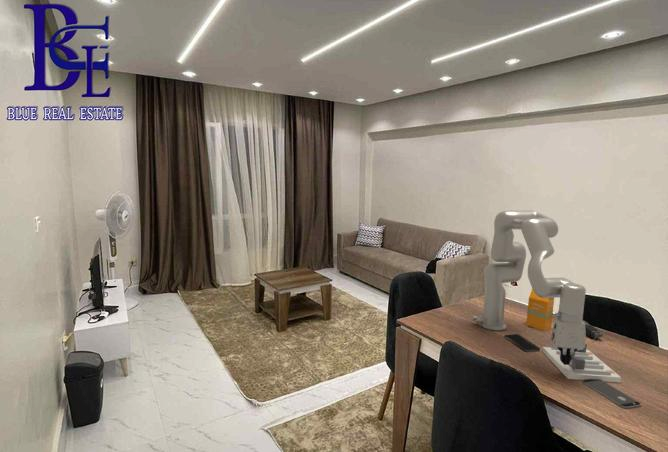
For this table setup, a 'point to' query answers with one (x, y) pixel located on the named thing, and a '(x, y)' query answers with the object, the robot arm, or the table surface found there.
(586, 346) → the far tab
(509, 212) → the robot arm
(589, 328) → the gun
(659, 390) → the table surface
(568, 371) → the switch board
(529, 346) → the phone
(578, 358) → the near tab
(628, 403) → the phone
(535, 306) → the orange juice
